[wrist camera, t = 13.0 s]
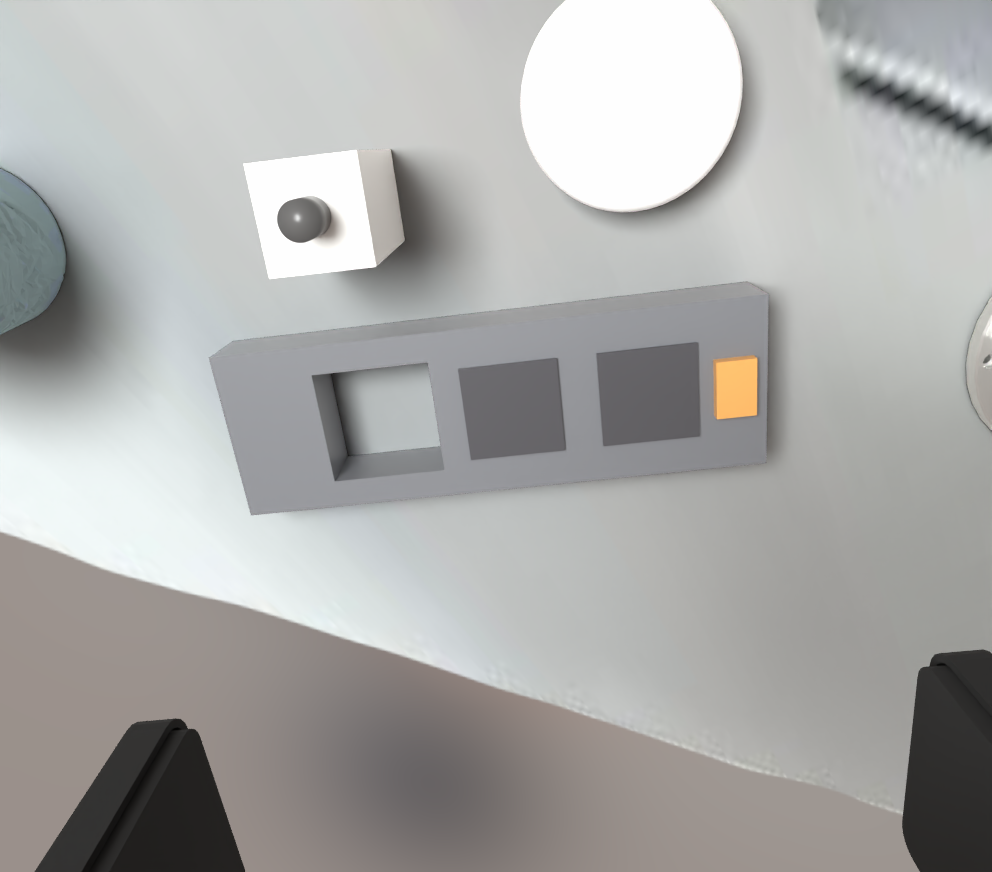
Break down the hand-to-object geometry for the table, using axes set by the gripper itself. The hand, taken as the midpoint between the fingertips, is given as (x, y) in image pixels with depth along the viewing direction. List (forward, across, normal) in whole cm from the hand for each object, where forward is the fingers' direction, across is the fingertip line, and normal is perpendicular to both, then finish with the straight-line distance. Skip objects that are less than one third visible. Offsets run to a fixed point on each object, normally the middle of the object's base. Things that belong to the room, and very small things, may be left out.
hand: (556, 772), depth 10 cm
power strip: (+32, +2, +5) cm, 33 cm away
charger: (+32, +8, -6) cm, 34 cm away
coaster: (+33, -6, -9) cm, 35 cm away
